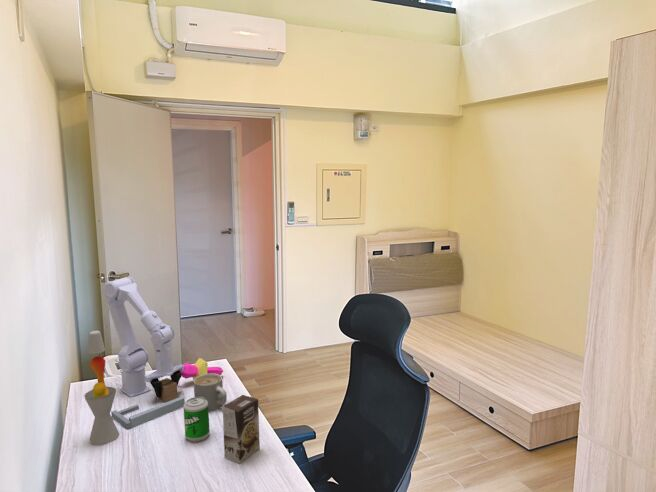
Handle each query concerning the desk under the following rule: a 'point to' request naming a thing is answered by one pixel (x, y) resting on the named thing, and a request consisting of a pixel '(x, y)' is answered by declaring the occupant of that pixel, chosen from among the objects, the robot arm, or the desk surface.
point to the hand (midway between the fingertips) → (166, 394)
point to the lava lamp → (100, 396)
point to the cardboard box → (168, 390)
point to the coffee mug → (210, 390)
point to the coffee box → (241, 428)
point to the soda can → (196, 419)
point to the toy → (199, 369)
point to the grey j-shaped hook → (146, 413)
